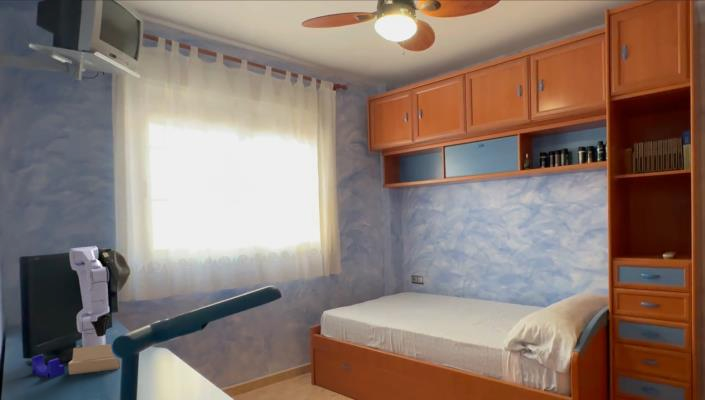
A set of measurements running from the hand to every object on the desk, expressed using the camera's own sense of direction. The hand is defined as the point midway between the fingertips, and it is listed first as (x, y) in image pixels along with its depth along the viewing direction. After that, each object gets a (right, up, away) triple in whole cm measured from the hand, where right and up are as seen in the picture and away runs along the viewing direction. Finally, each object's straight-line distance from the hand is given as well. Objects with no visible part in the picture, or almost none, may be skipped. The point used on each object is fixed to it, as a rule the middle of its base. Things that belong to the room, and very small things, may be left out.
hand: (101, 335), depth 164 cm
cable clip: (-15, -12, -8) cm, 20 cm away
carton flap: (+2, -4, -7) cm, 9 cm away
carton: (+1, -10, -2) cm, 11 cm away
